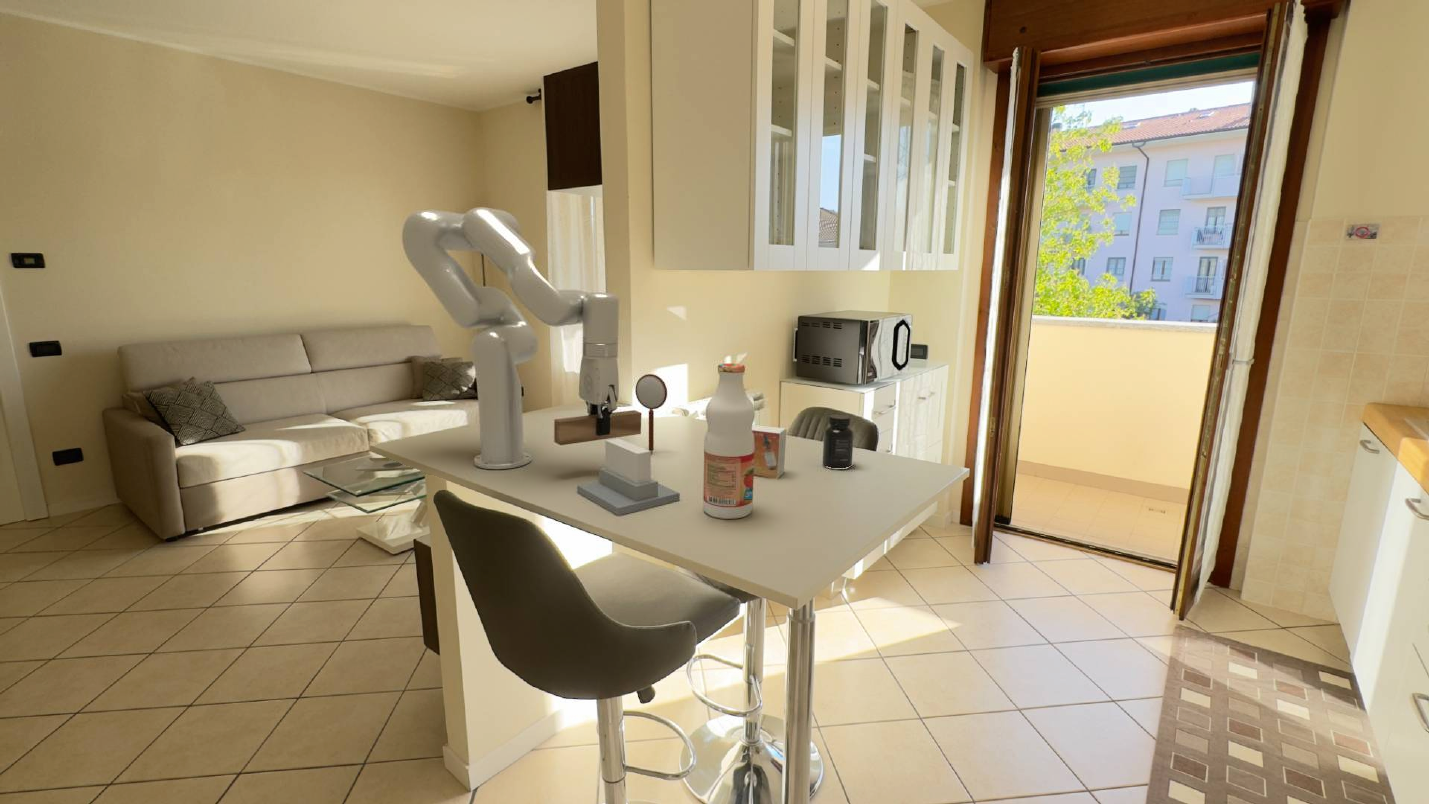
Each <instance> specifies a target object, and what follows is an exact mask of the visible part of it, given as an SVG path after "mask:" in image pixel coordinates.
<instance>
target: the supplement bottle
mask: <svg viewBox="0 0 1429 804" xmlns="http://www.w3.org/2000/svg"><path fill="white" fill-rule="evenodd" d="M850 426H851V417H850V416H849V415H846V414H845V415H843V414H831V415H829V418H828V426H827V427H826V428H825V429H824V431H823V445H822V466H823V465H824V466H828V467H831V468H846V467H849V466H851V465H852V464H853V453H854V452H853V450H854V436H855V434H854V430H853V429H852V428H851V427H850ZM824 466H823V467H824ZM851 467H852V466H851Z"/></svg>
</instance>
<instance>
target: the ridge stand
mask: <svg viewBox="0 0 1429 804" xmlns="http://www.w3.org/2000/svg"><path fill="white" fill-rule="evenodd" d="M604 441H605V467H600V468H598V477H599V478H598V480H597V481H591V482H587V483H583V484H577V485H576V493H577V492H578V494H579V495H581V496H583V497H584V498H586V499H588V500H589V501H592V502H594V504H597V505H598V506H600V507H602V508H603V509H605V510H607V511H609V512H611V513H613V514H614V515H616V516H618V517H619V516H623V515H628V514H631V513H635V512H638V511H639V512H640V511H643V510H647V509H652V508H655V507H658V506H659V507H660V506H662V505H663V506H664V505H666V504H671V503H675V502H678V501H680V497H681V496H680V495H681V494H680V492H679V491H675V490H673V489H671V488H670V487H667V486H664V485H662V484H661V483H659V481H658V480H655V479H653V478H652V476H651V475H652V473H651V472H652V471H651V470H652V467H651V466H652V465H651V464H652V463H651V462H652V459H651V458H652V454H651V451H650V450H649V449H646V448H643V447H642V446H641V447H640V446H638V445H636V444H633V443H630V442H629V441H626V440H623V439H620V437H616V438H610V439H604Z"/></svg>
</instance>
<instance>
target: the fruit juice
mask: <svg viewBox="0 0 1429 804" xmlns="http://www.w3.org/2000/svg"><path fill="white" fill-rule="evenodd" d="M745 370H746V367H745V365H744V364H741V363H730V362H729V363H727V362H726V363H720V364H718V366H717V373H718V375H719V379H718V384H717V387H716V390H715V392H714V395H713V397H711V399H710V400H709V402H707V405H706V407H705V420H706V423H707V429H706V431H705V435H704V440H703V441H704V443H703V483H702V485H703V488H702V489H703V490H702V491H703V492H702V494H703V495H702V497H703V498H702V505H703V511H704V513H706V514H707V516H710V517H714V518H718V519H721V520H722V519H723V520H734V519H736V520H737V519H741V518H745V517H747V516H749V515H750V514H751V513H752V510H753V502H754V501H753V500H754V496H753V495H754V476H755V475H754V450H755V442H754V435H753V432H752V425H754V421H755V416H756V413H755V412H756V411H755V407H754V404H753V402H752V401H751V400H750V398H749V397H748V394H747V393H746V389H745V385H744V379H743V378H744V375H745Z"/></svg>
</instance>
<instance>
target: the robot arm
mask: <svg viewBox="0 0 1429 804" xmlns="http://www.w3.org/2000/svg"><path fill="white" fill-rule="evenodd" d="M401 233H402V234H401V239H402V240H401V241H402V242H401V243H402V246H403V251H404V253H405V255H406V258H407V259H408V261H409V263H410V264H411V266H412V267H413V268H414V270H415V271H416V272H417V273H418V274H419V276H420V277H421V278H422V279H423V281H424V282H425V283H426V284H427V285H428V287H429V288H430V291H432V293H433V294H434V296H435V297H436V298H437V300H438V301H439V303H440V304H441V306H443V309H445V310H446V313H448V314H449V316H450V318H451V319H452V320H453V322H454V323H456V325H457V326H459V328H460V327H461V328H462V329H466V330H476V329H481V330H479V331H478V332H477V333H476V334H475V335H474V336H473V339H472V341H471V345H470V355H471V358H472V359H471V360H472V364H473V367H474V370H475V371H474V372H475V377H476V388H477V399H478V400H477V403H478V419H479V421H478V422H479V437H480V439H479V442H480V454H478V455H476V456H475V457H474V459H473V464H474V465H475V466H476V467H478V468H481V469H487V470H505V469H506V470H507V469H508V470H509V469H515V468H518V467H522V466H525V465H527V464H529V463H530V462H531V460H532V455H531V453H529V452H527V451H525V450H524V449H525V448H524V447H525V446H524V445H525V443H524V420H523V419H524V417H523V398H522V384H521V382H522V381H521V379H520V375H519V373H518V370H517V366H516V365H521V364H524V363H527V362H529V361H531V360H532V359H533V358H534V357H535V356H536V354H537V352H538V349H539V341H538V337H537V335H536V332H535V331H534V329H533V327H532V326H531V325H530V323H529V322H528V320H527V319H526V318H525V316H524V315H523V314H522V312H521V311H520V310H519V308H518V307H517V305H516V304H515V303H514V302H513V300H512V298H511V297H509V296H508V295H507V294H506V293H505V292H504V291H503V290H501V289H500V288H497V287H495V286H487V285H486V286H480V285H478V284H476V283H475V282H474V280H473V279H472V278H471V277H470V276H469V275H468V273H467V271H466V270H465V268H464V267H463V266H462V265H461V264H460V263H459V262H458V261H457V260H456V259H455V258H453V257H452V255H450V254H449V253H448V252H447V251H455V252H465V251H466V252H467V251H468V252H469V251H479V252H480V253H482V255H483V256H484V257H486V258H487V259H488V260H489V261H490V262H491V263H492V264H493V265H494V266H495V267H496V268H497V269H498V270H499V271H500V272H501V273H502V274H503V275H505V277H507V280H508V284H509V286H510V288H511V290H512V292H513V294H514V296H515V297H516V299H517V300H518V301H519V302H520V304H522V305H523V306H524V307H525V308H526V309H527V310H528V311H529V312H530V313H531V314H533V316H534V317H536V319H538V320H539V321H541V322H542V323H543V324H546V325H548V326H551V327H564V326H572V325H579V324H580V325H581V324H582V357H581V362H580V367H579V378H578V379H579V380H578V396H579V398H580V400H583V401H584V402H585V404H586V406H587V407H586V408H587V409H586V411H587V414H588V415H597V414H598V418H596V435H598V436H601V435H608V434H610V417H611V416H612V413H614V411H617V409H618V406H617V403H618V401H619V391H620V387H619V386H620V385H619V384H620V381H619V380H620V379H619V367H618V366H619V365H618V358H619V357H618V356H619V351H618V350H619V320H620V319H619V315H620V313H619V311H620V302H619V300H620V299H619V298H618V297H619V296H617V295H616V294H613V293H611V292H610V293H609V292H608V293H607V292H587V291H583V290H579V289H557V288H556V287H554V285H552V284H551V283H550V282H549V281H548V280H547V279H546V278H545V277H544V276H543V275H542V274H541V273H540V272H539V271H538V269H537V267H536V265H535V263H536V260H537V256H538V255H537V252H536V249H535V248H534V247H533V246H532V245H531V244H530V243H528V242H527V241H526V240H525V239H524V237H522V236H521V234H522V233H521V226H520V223H519V222H518V220H517V218H516V217H515V216H513V215H512V214H511V213H509V212H507V211H505V210H503V209H497V208H490V207H486V206H485V207H484V206H480V207H479V206H477V207H474V208H471V209H470V210H468V211H467V212H466V213H458V212H452V211H445V210H439V209H438V210H437V209H421V210H417V211H415V212H413V213H411V214H410V215H408V217H407V218H406V219H405V222H404V224H403V227H402V232H401ZM603 407H604V408H603ZM588 415H587V416H588Z"/></svg>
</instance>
